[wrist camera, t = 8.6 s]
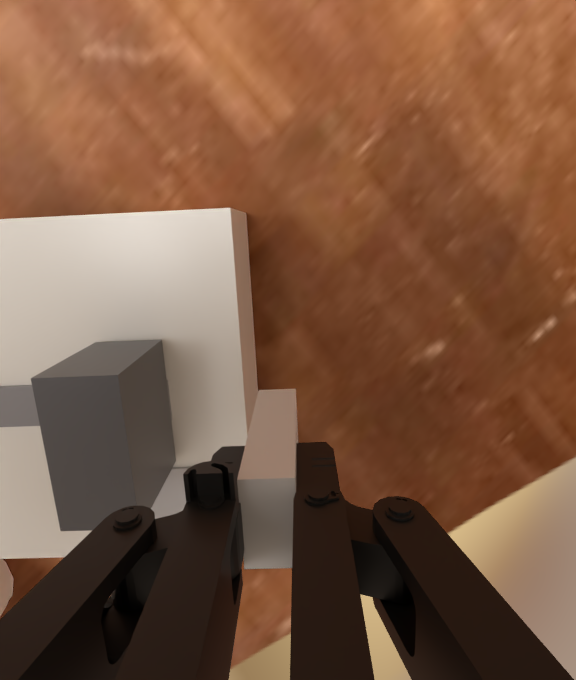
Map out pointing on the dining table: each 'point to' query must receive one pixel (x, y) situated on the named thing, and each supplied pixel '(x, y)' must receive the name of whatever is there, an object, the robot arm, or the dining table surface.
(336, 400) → the dining table surface
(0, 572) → the foam cup
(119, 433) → the knob
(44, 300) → the switch panel
